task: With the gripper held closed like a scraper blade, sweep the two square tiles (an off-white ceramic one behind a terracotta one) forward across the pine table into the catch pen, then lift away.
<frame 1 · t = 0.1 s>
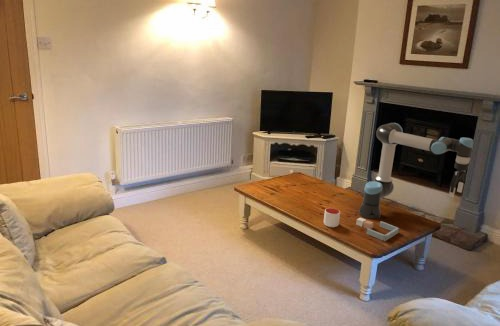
hand: (455, 194, 262), 28 cm above the table, fingers open, 13 cm apart
cup: (330, 224, 276), on the table
tile rear: (360, 224, 278), on the table
catch pen: (382, 233, 267), on the table
tile front: (367, 227, 274), on the table
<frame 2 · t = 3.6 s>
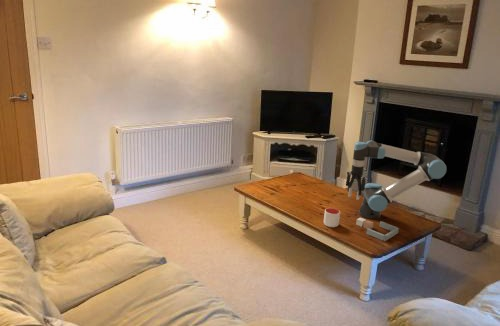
hand: (353, 197, 278), 17 cm above the table, fingers open, 6 cm apart
nothing on the table moved.
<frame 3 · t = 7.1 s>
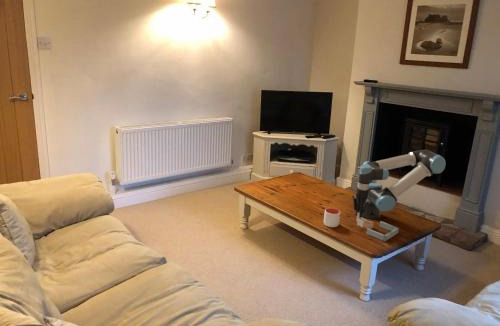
hand: (358, 221, 278), 2 cm above the table, fingers closed
tile rear: (361, 225, 277), on the table, touching gripper
everything else where it was.
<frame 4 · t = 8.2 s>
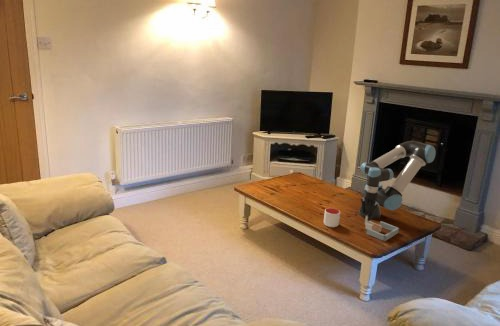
hand: (366, 224, 274), 2 cm above the table, fingers closed
tile rear: (370, 228, 273), on the table, touching gripper, tile front
tile front: (376, 231, 270), on the table, touching tile rear
everything else where it was.
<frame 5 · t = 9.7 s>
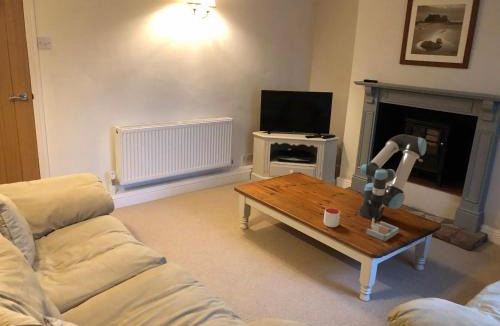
hand: (373, 226, 271), 2 cm above the table, fingers closed
tile rear: (376, 231, 270), on the table, touching gripper
tile front: (382, 233, 267), on the table
everything else where it was.
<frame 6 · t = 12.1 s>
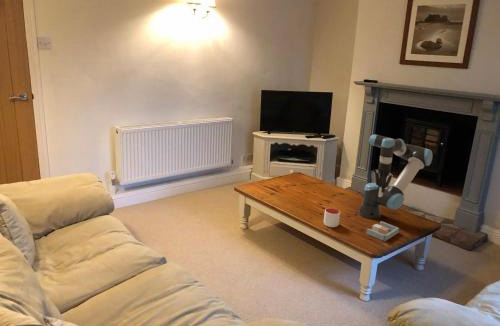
hand: (380, 196, 271), 21 cm above the table, fingers closed
tile rear: (376, 231, 270), on the table
everything else where it was.
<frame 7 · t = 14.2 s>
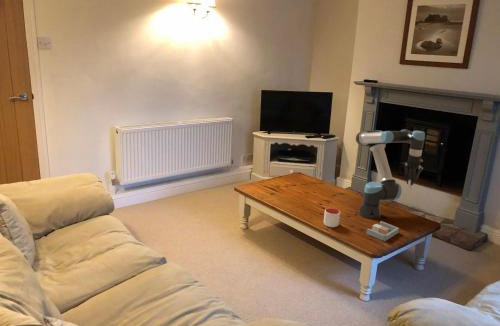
hand: (408, 189, 272), 26 cm above the table, fingers closed
nothing on the table moved.
at the end: tile rear inside the target area (4.6 cm from its centre), on the table; tile front inside the target area (0.1 cm from its centre), on the table; tile rear moved 11.9 cm from its start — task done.
